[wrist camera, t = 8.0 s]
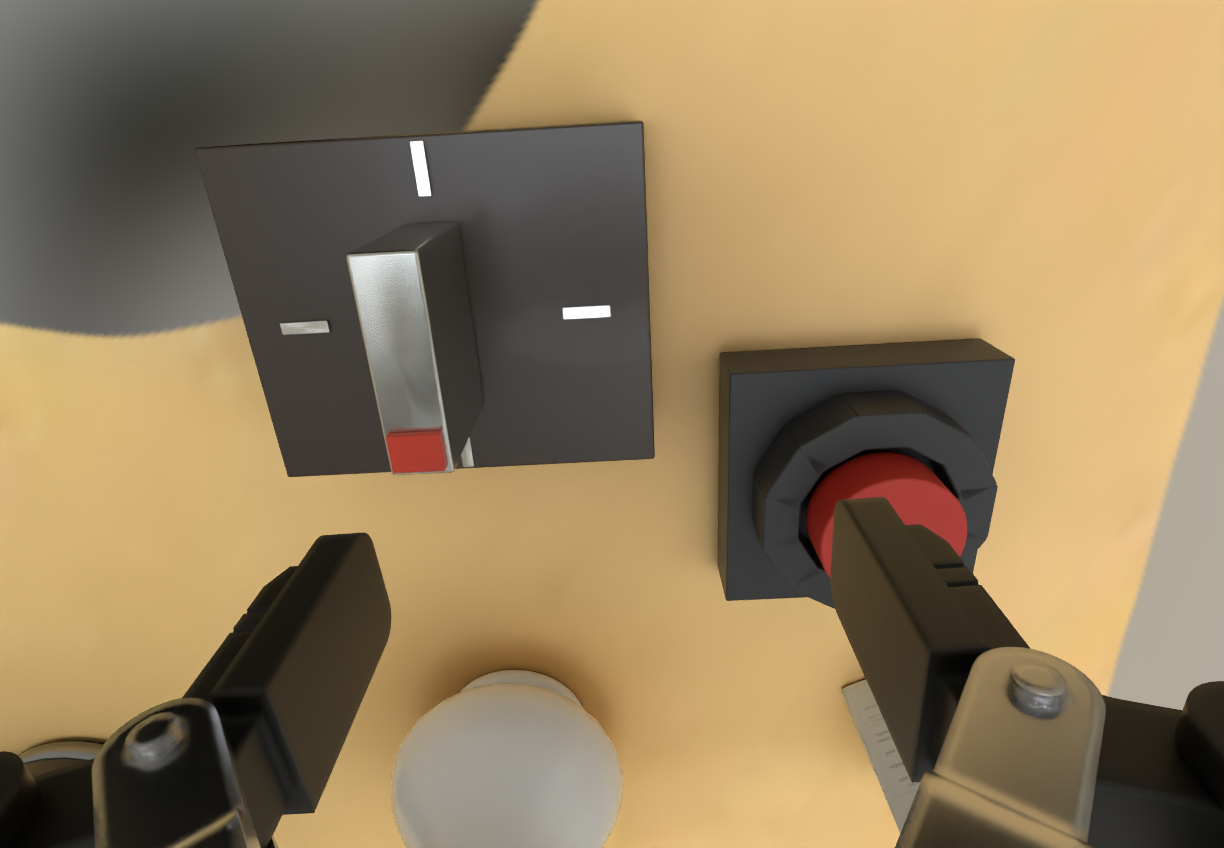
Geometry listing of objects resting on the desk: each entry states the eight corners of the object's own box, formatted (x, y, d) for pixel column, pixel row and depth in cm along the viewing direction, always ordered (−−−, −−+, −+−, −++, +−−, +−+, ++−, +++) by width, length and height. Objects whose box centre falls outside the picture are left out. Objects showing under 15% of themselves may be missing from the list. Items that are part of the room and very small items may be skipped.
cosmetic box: (970, 739, 31) (1163, 1073, 20) (881, 770, 32) (1020, 1106, 21) (931, 649, 29) (1124, 969, 18) (837, 684, 30) (967, 1011, 19)
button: (801, 570, 23) (815, 604, 21) (809, 454, 21) (825, 482, 20) (932, 564, 23) (956, 598, 21) (952, 447, 21) (980, 474, 20)
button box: (717, 565, 27) (733, 634, 24) (719, 351, 24) (739, 395, 20) (943, 555, 27) (995, 623, 23) (981, 338, 23) (1049, 378, 20)
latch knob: (402, 224, 19) (340, 256, 15) (459, 221, 19) (414, 251, 14) (433, 406, 21) (388, 481, 17) (485, 404, 21) (452, 478, 17)
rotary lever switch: (322, 438, 25) (285, 480, 22) (247, 144, 21) (189, 148, 18) (650, 421, 25) (655, 461, 22) (639, 120, 21) (643, 120, 18)
